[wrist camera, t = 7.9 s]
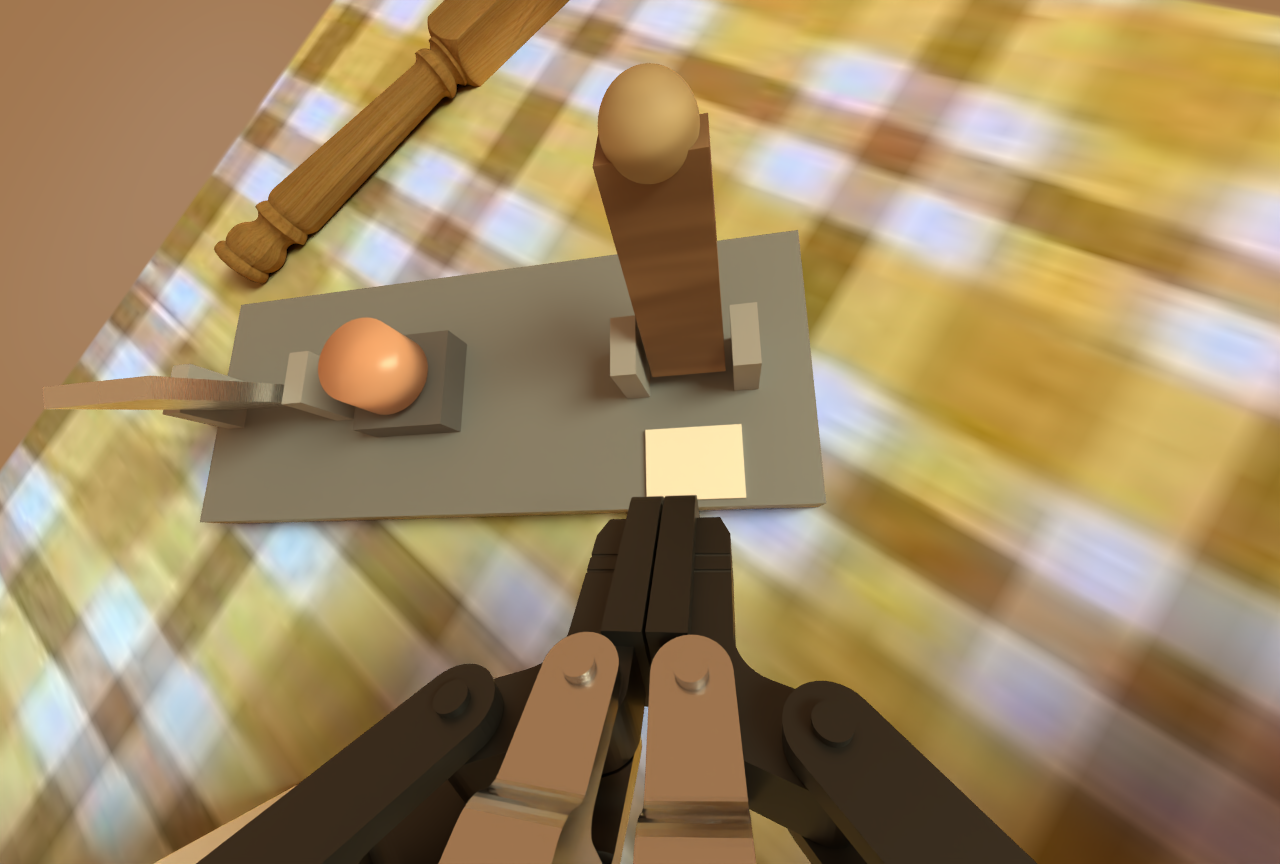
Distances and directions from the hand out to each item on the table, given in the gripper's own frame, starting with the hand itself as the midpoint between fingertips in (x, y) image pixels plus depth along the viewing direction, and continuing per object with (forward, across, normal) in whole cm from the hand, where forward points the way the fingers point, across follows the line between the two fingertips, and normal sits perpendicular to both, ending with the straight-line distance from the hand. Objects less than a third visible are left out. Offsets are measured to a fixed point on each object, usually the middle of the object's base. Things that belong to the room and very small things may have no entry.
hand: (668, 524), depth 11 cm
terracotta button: (+9, +13, -1) cm, 16 cm away
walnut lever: (+10, 0, 0) cm, 10 cm away
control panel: (+12, +10, +2) cm, 16 cm away
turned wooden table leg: (+26, +16, -11) cm, 33 cm away
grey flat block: (+10, +21, +1) cm, 23 cm away
